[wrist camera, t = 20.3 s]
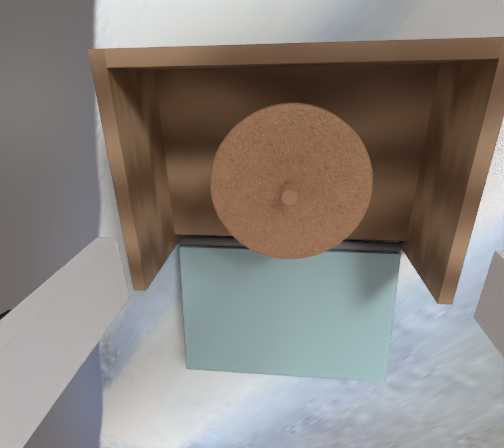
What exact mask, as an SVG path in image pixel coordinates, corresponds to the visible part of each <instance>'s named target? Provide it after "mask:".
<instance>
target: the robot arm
mask: <svg viewBox="0 0 504 448" xmlns="http://www.w3.org/2000/svg"><path fill="white" fill-rule="evenodd" d="M128 300H129V294H128V290H127V285H126V280H125V275H124V270H123V266H122V261H121V256H120V251H119V246H118V242H117V238H103V237H97V238H96V239H95V240H94V241H92V242H91V243H90V244H89V245H88V246H87V247H85V248H84V249H83V250H82V251H81V252H80V253H78V254H77V255H76V256H75V257H74V258H72V259H71V260H70V261H69V262H68V263H67V264H65V265H64V266H63V267H62V268H61V269H60V270H58V271H57V272H56V273H55V274H54V275H53V276H51V277H50V278H49V279H48V280H47V281H45V282H44V283H43V284H42V285H41V286H40V287H38V288H37V289H36V290H35V291H34V292H33V293H31V294H30V295H29V296H28V297H27V298H26V299H25V300H23V301H22V302H21V303H20V304H19V305H18V306H16V307H15V308H14V309H13V310H8V311H6V312H4V313H3V314H0V448H23V446H24V445H25V443H26V442H27V441H28V439H29V438H30V437H31V435H32V434H33V432H34V431H35V429H36V428H37V427H38V426H39V424H40V423H41V421H42V420H43V418H44V417H45V416H46V414H47V413H48V411H49V410H50V409H51V407H52V406H53V404H54V403H55V402H56V400H57V399H58V397H59V396H60V394H61V393H62V392H63V391H64V389H65V388H66V386H67V385H68V384H69V382H70V381H71V379H72V378H73V377H74V375H75V374H76V372H77V371H78V370H79V368H80V367H81V365H82V364H83V363H84V361H85V360H86V358H87V357H88V356H89V354H90V353H91V351H92V350H93V349H94V347H95V346H96V345H97V343H98V342H99V340H100V339H101V338H102V336H103V335H104V333H105V332H106V331H107V329H108V328H109V326H110V325H111V324H112V322H113V321H114V319H115V318H116V317H117V315H118V314H119V312H120V311H121V310H122V308H123V307H124V305H125V304H126V303H127V301H128ZM474 318H475V320H476V321H477V323H478V324H479V325H480V327H481V328H482V329H483V331H484V332H485V333H486V335H487V336H488V337H489V339H490V340H491V342H492V343H493V344H494V346H495V347H496V348H497V350H498V351H499V352H500V354H501V355H502V357H503V358H504V251H495V252H494V255H493V258H492V261H491V264H490V267H489V271H488V274H487V277H486V280H485V283H484V286H483V289H482V293H481V296H480V299H479V302H478V305H477V308H476V311H475V314H474Z"/></svg>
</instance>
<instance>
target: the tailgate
mask: <svg viewBox="0 0 504 448" xmlns="http://www.w3.org/2000/svg"><path fill="white" fill-rule="evenodd" d="M179 244H180V245H181V246H180V247H179V252H180V268H181V285H182V301H183V318H184V334H185V350H186V367H187V369H197V370H211V371H226V372H240V373H255V374H269V375H284V376H299V377H313V378H328V379H342V380H357V381H372V382H386V374H387V365H388V357H389V348H390V340H391V332H392V323H393V315H394V306H395V298H396V289H397V281H398V272H399V264H400V255H401V254H400V253H399V252H400V251H401V244H400V243H379V242H344V241H342V242H341V243H340V244H338V245H337V246H335V247H333V248H332V249H330V250H328V251H326V252H323V253H321V254H318V255H315V256H311V257H307V258H300V259H280V258H274V257H269V256H266V255H263V254H260V253H257V252H255V251H253V250H251V249H249V248H248V247H246V246H245V245H243V244H241V243H240V242H239V241H238V240H237V239H235V238H204V237H180V239H179Z"/></svg>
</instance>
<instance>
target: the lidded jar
mask: <svg viewBox="0 0 504 448" xmlns="http://www.w3.org/2000/svg"><path fill="white" fill-rule="evenodd" d="M372 188H373V170H372V165H371V161H370V157H369V155H368V152H367V150H366V148H365V145H364V144H363V142H362V141H361V139H360V137H359V136H358V134H357V133H356V132H355V131H354V130H353V129H352V128H351V127H350V126H349V125H348V124H347V123H346V122H345V121H344V120H342V119H341V118H340V117H338V116H337V115H335V114H333V113H331V112H329V111H328V110H326V109H324V108H320V107H317V106H314V105H311V104H304V103H281V104H276V105H270V106H268V107H265V108H262V109H259V110H257V111H255V112H253V113H252V114H250V115H248V116H247V117H245V118H244V119H243V120H241V121H240V122H239V123H238V124H236V125H235V126H234V127H233V128H232V129H231V131H230V132H229V133H228V134H227V135H226V136H225V138H224V139H223V141H222V143H221V144H220V146H219V147H218V150H217V152H216V154H215V157H214V159H213V163H212V168H211V174H210V191H211V197H212V201H213V205H214V208H215V210H216V213H217V215H218V217H219V219H220V220H221V222H222V224H223V225H224V227H225V228H226V229H227V230H228V231H229V233H230V234H231V235H232V236H233V237H234V238H235V239H237V240H238V241H239V242H240V243H241V244H243V245H245V246H246V247H248V248H249V249H251V250H253V251H255V252H257V253H260V254H263V255H266V256H269V257H274V258H280V259H300V258H307V257H311V256H315V255H318V254H321V253H323V252H326V251H328V250H330V249H332V248H333V247H335V246H337V245H338V244H340V243H341V242H342V241H343V240H345V239H346V238H347V237H348V236H349V235H350V234H351V233H352V232H353V231H354V230H355V229H356V228H357V226H358V225H359V223H360V222H361V220H362V219H363V217H364V215H365V213H366V211H367V208H368V206H369V203H370V199H371V196H372Z"/></svg>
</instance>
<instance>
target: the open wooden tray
mask: <svg viewBox="0 0 504 448" xmlns="http://www.w3.org/2000/svg"><path fill="white" fill-rule="evenodd" d="M88 54H89V59H90V64H91V69H92V75H93V80H94V85H95V90H96V96H97V101H98V106H99V111H100V116H101V122H102V127H103V132H104V137H105V142H106V148H107V153H108V158H109V163H110V168H111V174H112V179H113V184H114V189H115V195H116V200H117V205H118V210H119V215H120V221H121V226H122V231H123V236H124V241H125V247H126V252H127V257H128V262H129V267H130V273H131V278H132V283H133V288H134V290H145V291H146V290H147V288H148V287H149V285H150V284H151V282H152V281H153V279H154V278H155V276H156V275H157V273H158V272H159V270H160V269H161V267H162V266H163V264H164V263H165V261H166V260H167V258H168V257H169V255H170V254H171V252H172V251H173V249H174V248H175V246H176V245H177V243H178V242H179V239H180V238H179V234H180V235H216V236H232V235H231V234H230V233H229V231H228V230H227V229H226V228H225V227H224V225H223V224H222V222H221V220H220V219H219V217H218V215H217V213H216V210H215V208H214V205H213V201H212V197H211V191H210V174H211V168H212V163H213V159H214V157H215V154H216V152H217V150H218V147H219V146H220V144H221V143H222V141H223V139H224V138H225V136H226V135H227V134H228V133H229V132H230V131H231V129H232V128H233V127H234V126H235V125H236V124H238V123H239V122H240V121H241V120H243V119H244V118H245V117H247V116H248V115H250V114H252V113H253V112H255V111H257V110H259V109H262V108H265V107H268V106H270V105H276V104H281V103H304V104H311V105H314V106H317V107H320V108H324V109H326V110H328V111H329V112H331V113H333V114H335V115H337V116H338V117H340V118H341V119H342V120H344V121H345V122H346V123H347V124H348V125H349V126H350V127H351V128H352V129H353V130H354V131H355V132H356V133H357V134H358V136H359V137H360V139H361V141H362V142H363V144H364V145H365V148H366V150H367V152H368V155H369V157H370V161H371V165H372V170H373V188H372V196H371V199H370V203H369V206H368V208H367V211H366V213H365V215H364V217H363V219H362V220H361V222H360V223H359V225H358V226H357V228H356V229H355V230H354V231H353V232H352V233H351V234H350V235H349V236H348V237H347V238H346V239H359V240H395V241H401V248H402V250H403V251H404V253H405V254H406V256H407V257H408V259H409V260H410V262H411V264H412V265H413V267H414V268H415V270H416V271H417V273H418V274H419V276H420V277H421V279H422V280H423V282H424V283H425V285H426V287H427V288H428V290H429V291H430V293H431V294H432V296H433V297H434V299H435V300H436V302H437V303H438V304H452V303H453V300H454V296H455V292H456V289H457V285H458V281H459V278H460V274H461V270H462V267H463V263H464V259H465V256H466V252H467V248H468V245H469V241H470V237H471V234H472V230H473V226H474V223H475V219H476V215H477V212H478V208H479V204H480V201H481V197H482V193H483V190H484V186H485V182H486V179H487V175H488V171H489V168H490V164H491V160H492V157H493V153H494V149H495V146H496V142H497V138H498V135H499V131H500V127H501V123H502V120H503V116H504V37H490V38H455V39H421V40H387V41H353V42H319V43H285V44H251V45H217V46H182V47H148V48H114V49H88Z"/></svg>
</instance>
